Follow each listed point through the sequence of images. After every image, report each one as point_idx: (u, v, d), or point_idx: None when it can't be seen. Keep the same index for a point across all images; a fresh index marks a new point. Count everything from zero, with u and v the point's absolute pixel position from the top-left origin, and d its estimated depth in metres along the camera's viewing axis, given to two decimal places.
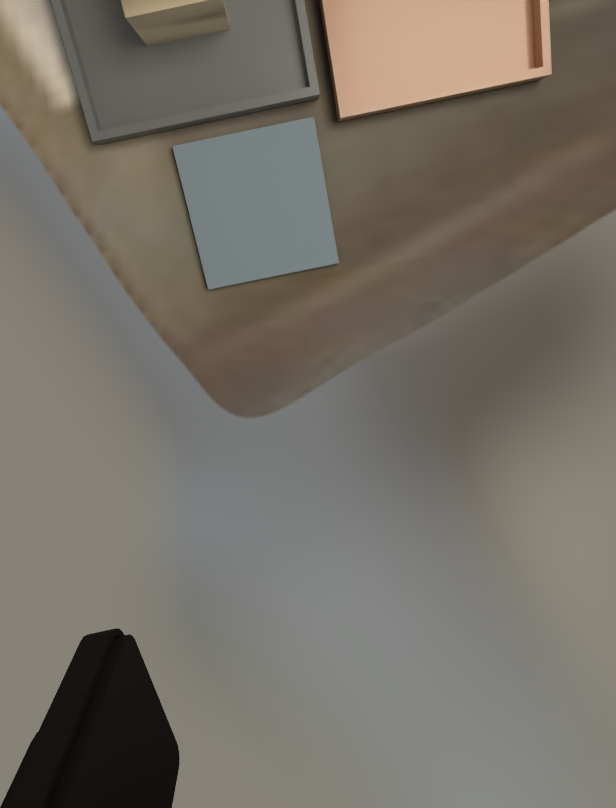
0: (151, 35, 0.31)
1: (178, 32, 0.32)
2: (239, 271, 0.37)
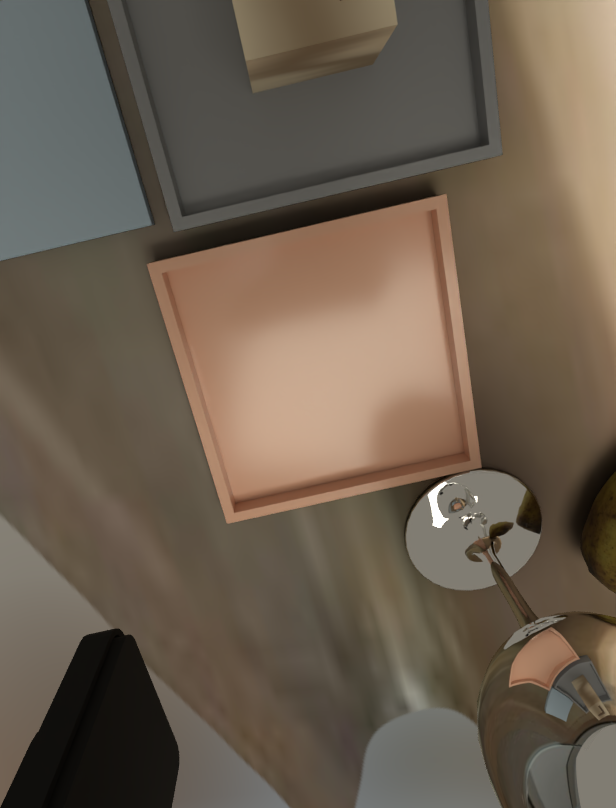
0: None
1: None
2: None
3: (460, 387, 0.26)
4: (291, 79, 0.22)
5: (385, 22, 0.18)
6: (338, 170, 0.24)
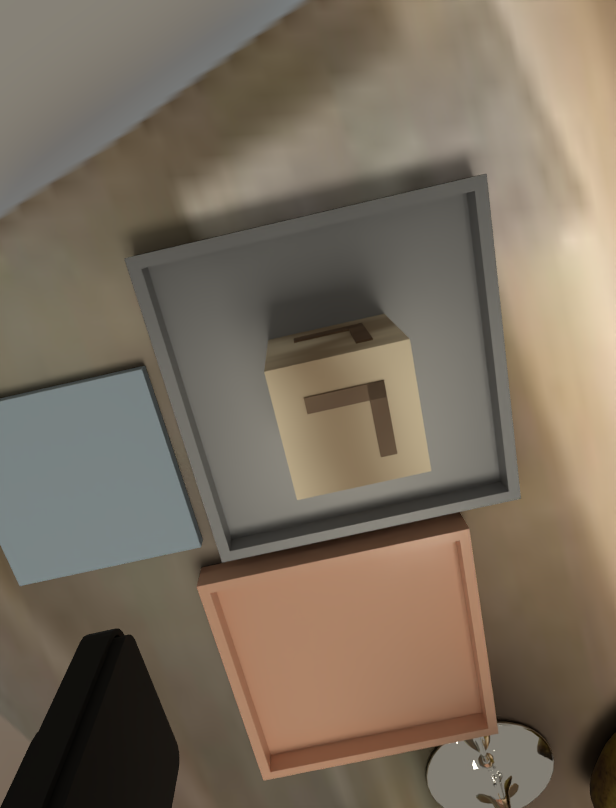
0: None
1: None
2: None
3: (479, 672, 0.28)
4: None
5: (420, 470, 0.20)
6: (370, 501, 0.26)
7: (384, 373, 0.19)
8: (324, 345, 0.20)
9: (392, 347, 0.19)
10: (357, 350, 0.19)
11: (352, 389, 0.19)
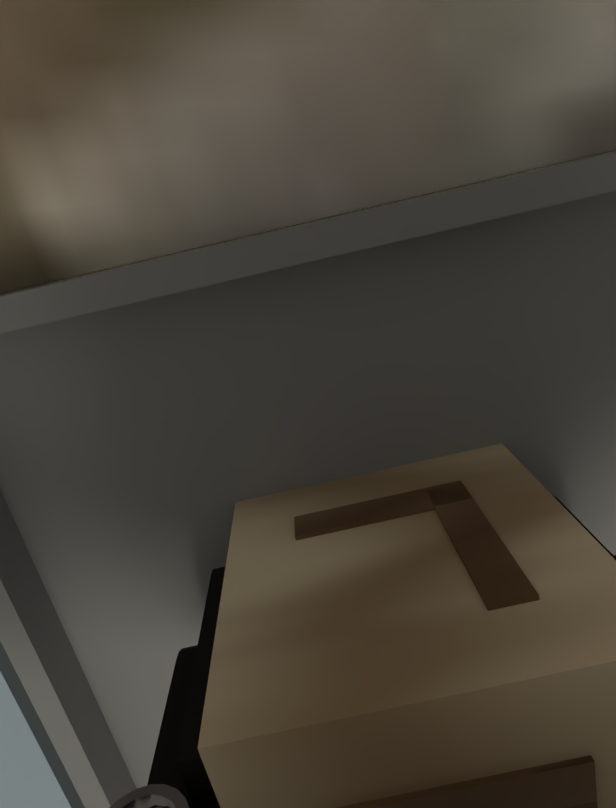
0: None
1: None
2: None
3: None
4: None
5: None
6: None
7: (594, 738, 0.06)
8: (383, 589, 0.07)
9: None
10: (513, 674, 0.06)
11: (489, 782, 0.06)
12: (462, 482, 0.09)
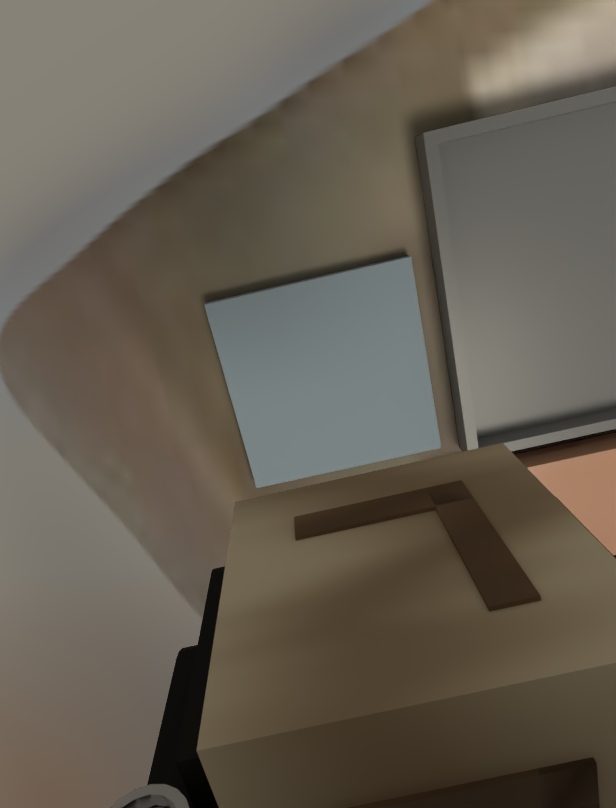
0: None
1: None
2: (236, 352, 0.24)
3: None
4: None
5: None
6: (614, 401, 0.26)
7: (597, 740, 0.06)
8: (383, 589, 0.07)
9: None
10: (515, 676, 0.05)
11: (490, 784, 0.06)
12: (463, 482, 0.09)
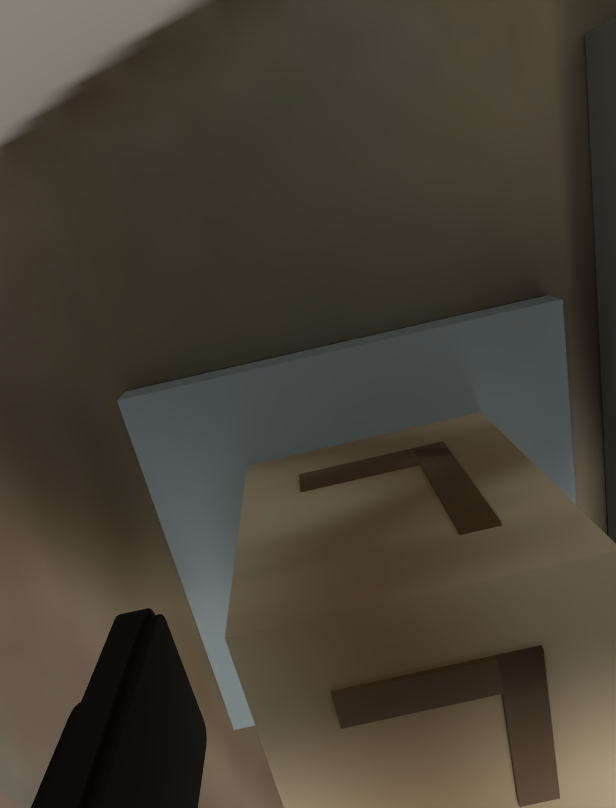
0: None
1: None
2: (188, 493, 0.12)
3: None
4: None
5: None
6: None
7: (544, 630, 0.07)
8: (374, 523, 0.08)
9: (573, 570, 0.07)
10: (476, 576, 0.07)
11: (460, 668, 0.07)
12: (444, 443, 0.10)
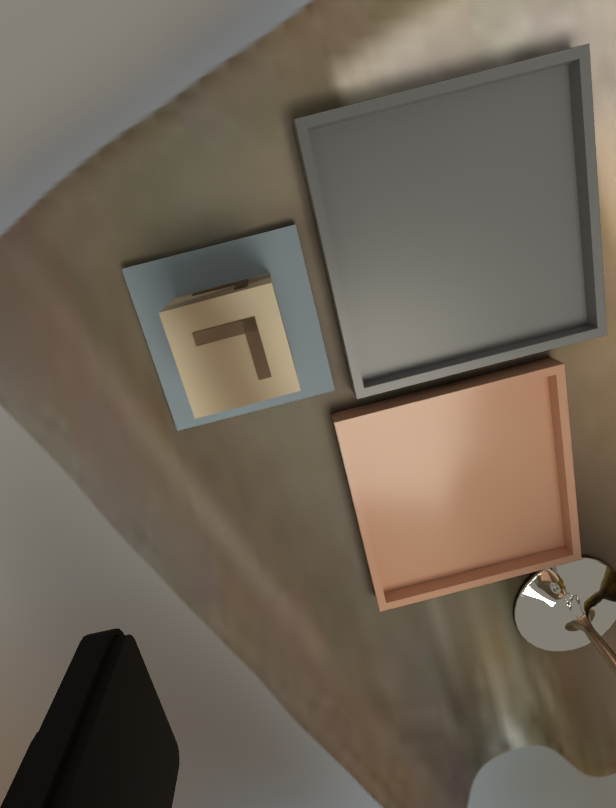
0: None
1: None
2: (151, 310, 0.28)
3: (567, 500, 0.33)
4: None
5: (291, 390, 0.25)
6: (478, 345, 0.31)
7: (254, 311, 0.24)
8: (211, 294, 0.25)
9: (259, 289, 0.24)
10: (231, 293, 0.24)
11: (231, 324, 0.24)
12: (248, 279, 0.27)
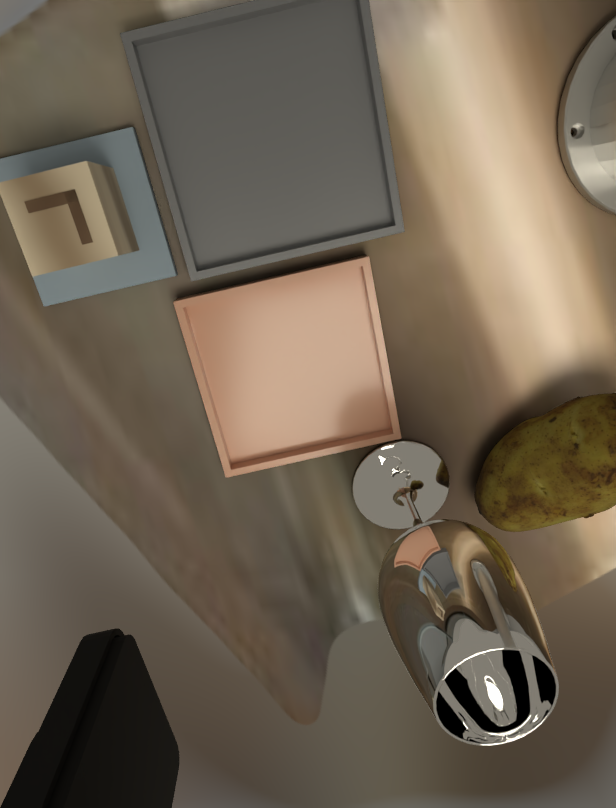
0: None
1: None
2: None
3: (384, 382, 0.38)
4: None
5: (110, 255, 0.31)
6: (298, 240, 0.36)
7: (74, 184, 0.30)
8: None
9: (76, 166, 0.29)
10: (55, 169, 0.29)
11: (55, 196, 0.30)
12: None
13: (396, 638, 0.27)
